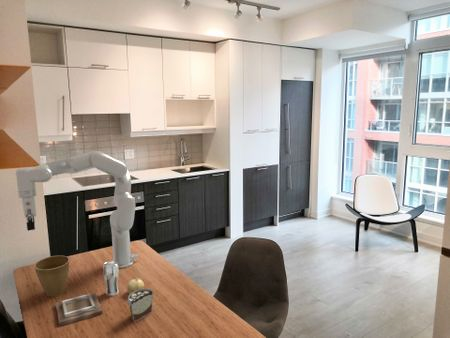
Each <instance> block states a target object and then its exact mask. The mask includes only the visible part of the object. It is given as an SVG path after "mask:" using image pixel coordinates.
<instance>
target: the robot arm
mask: <svg viewBox="0 0 450 338" xmlns="http://www.w3.org/2000/svg"><path fill="white" fill-rule="evenodd" d="M94 168H95V169H97V170H99V171H101V172H103V173H105V174H107V175H108V176H109V175H110V176H112V177H113V178H114V183H115V184H114V195H113V204H114V206H115V207H116V209H115V210H113V211H112V213H111V214H110V216H109V223H110V229H111V242H112V257H113V259H112V261H116V262H118V269H121V268H123V269H124V268H127V267H130V266H132V265H133V264H134V262H135V260H134V259H139V258H140V254H136V253H133V254H131V239H130V230H131V229H132V227H133V226H134V221H135V213H136V201H135V197H133V196H132V194H131V191H132V178H131V174H130V171H129V169H128V166H127V165H126V164H125V163H124V162H122V161H120V160H117V159H115V158H113V157H111V156H110V155H108V154H105V152H102V151H99V150H93V151H90V152H85V153H81V154H78V155H75V156H70V157H65V158H62V159H57V160H53V161H47V162H45V163H42V164H38V165H37V166H35V168H33V167H21V168H18V169H16V170H15V177H16V184H17V185H16V186H17V194H18V198H19V199H21V201H22V203H21V204H22V209H23V214H24V218H26V230H27V231H34V230H35V229H36V227H35V222H36V221H35V217H37V207H36V199H35V197H36V196H37V188H36V187H37V186H36V183H47V182H49V181H51V179H52V178H53V177H54V176H58V175H64V174H71V175H72V174H77V173H78V174H79V173H81V172H85V171H88V170H92V169H94Z"/></svg>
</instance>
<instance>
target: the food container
mask: <svg viewBox="0 0 450 338" xmlns="http://www.w3.org/2000/svg"><path fill="white" fill-rule="evenodd" d="M154 294H155V292H154V290H153V289H150V288H144V289H139V290H136V291H134V292H132V293H129V295H128V297H127V305H128V306H129V310H130V311H129V312H130V317H131V318H130V319H131V321H132V322H133V323H136V322H137V321H139V320H141V319H143V318H145V317H146V316H147V315H150V314H152V313H153V297H154V296H153V295H154Z"/></svg>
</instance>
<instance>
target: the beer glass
mask: <svg viewBox="0 0 450 338" xmlns="http://www.w3.org/2000/svg"><path fill="white" fill-rule="evenodd" d="M102 267H103V269H102V271H103V272H102V273H103V280H104V283H105V287H106V288H105V295H106V296H108V297H113V296H117V295H118V294H119V293H120V289H119V285H118V284H119V276H120V275H119V274H120V272H119V271H120V270H119V268H118V262H116V261H113V260H108V261H105V262H104V263H103V265H102Z"/></svg>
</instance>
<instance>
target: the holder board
mask: <svg viewBox="0 0 450 338" xmlns="http://www.w3.org/2000/svg"><path fill="white" fill-rule="evenodd" d="M101 306H102V305H101V304H100V301H99V299H98V295H97V293H96V292H93V293H88V294H84V295H79V296H76V297H73V298H71V297H70V298H69V299H65V300H62V301H58V302H55V307H56V313H57V320H58V326H59V327H61V326H64V325H68V324H72V323H75V322H79V321H82V320H85V319H90V318H93V317H96V316H99V315H103V309H102V307H101Z"/></svg>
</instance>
